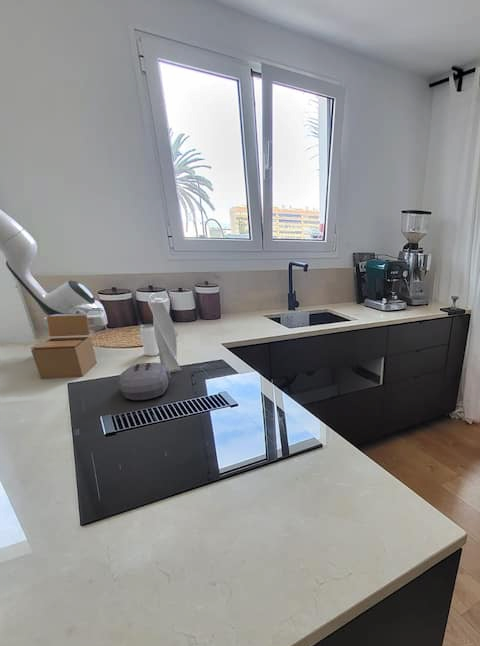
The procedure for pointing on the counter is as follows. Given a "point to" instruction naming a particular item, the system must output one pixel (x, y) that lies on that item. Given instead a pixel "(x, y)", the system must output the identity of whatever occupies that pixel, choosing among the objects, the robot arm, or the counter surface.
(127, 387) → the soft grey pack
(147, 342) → the can
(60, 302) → the robot arm
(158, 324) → the skyscraper
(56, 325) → the flap
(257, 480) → the counter surface
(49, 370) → the carton
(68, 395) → the counter surface
